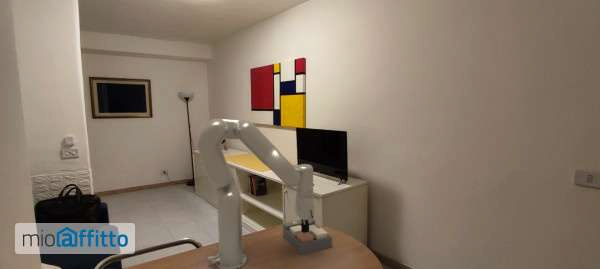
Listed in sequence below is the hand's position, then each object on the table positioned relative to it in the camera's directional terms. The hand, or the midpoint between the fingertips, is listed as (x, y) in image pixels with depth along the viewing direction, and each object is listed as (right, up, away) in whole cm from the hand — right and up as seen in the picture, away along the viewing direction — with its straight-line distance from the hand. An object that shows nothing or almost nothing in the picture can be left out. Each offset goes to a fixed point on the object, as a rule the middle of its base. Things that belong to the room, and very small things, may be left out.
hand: (305, 231), depth 129 cm
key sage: (+3, -4, +10) cm, 12 cm away
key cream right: (+6, -3, +4) cm, 8 cm away
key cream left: (-4, -3, +7) cm, 8 cm away
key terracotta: (0, -4, 0) cm, 4 cm away
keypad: (+1, -7, +7) cm, 10 cm away
